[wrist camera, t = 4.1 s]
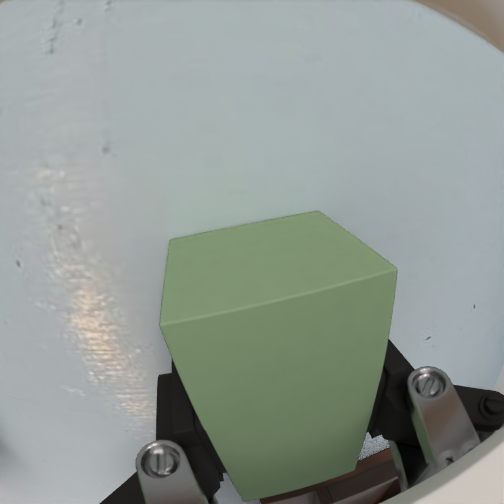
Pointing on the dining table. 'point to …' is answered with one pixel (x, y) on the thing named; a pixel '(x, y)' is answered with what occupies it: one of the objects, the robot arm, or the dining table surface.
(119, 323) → the dining table surface
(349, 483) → the recessed wooden panel
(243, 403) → the pad block
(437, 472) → the robot arm
